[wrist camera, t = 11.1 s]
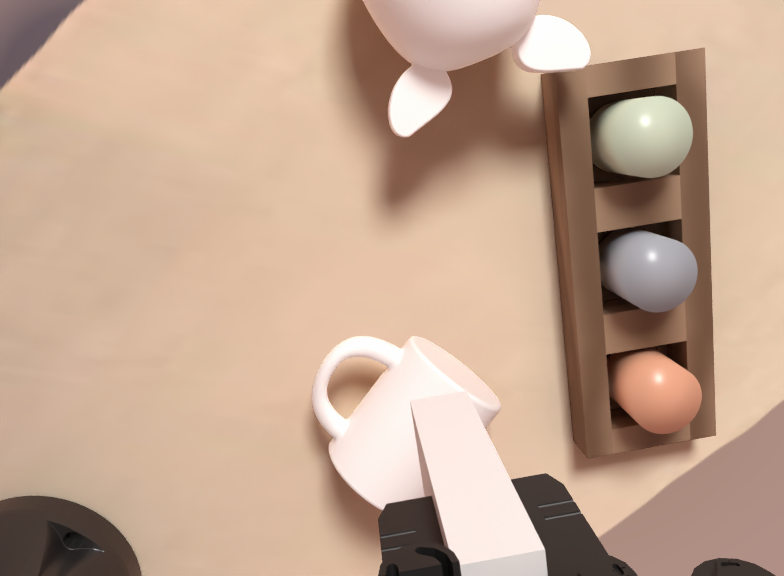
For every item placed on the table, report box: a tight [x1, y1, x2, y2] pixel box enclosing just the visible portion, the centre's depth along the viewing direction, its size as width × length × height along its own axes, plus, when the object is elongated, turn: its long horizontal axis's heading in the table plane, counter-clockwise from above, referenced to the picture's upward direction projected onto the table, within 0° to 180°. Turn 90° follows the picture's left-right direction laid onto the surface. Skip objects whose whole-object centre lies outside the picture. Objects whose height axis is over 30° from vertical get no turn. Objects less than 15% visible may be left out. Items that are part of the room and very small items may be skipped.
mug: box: [312, 336, 501, 511], centre depth 45 cm, size 12×10×8 cm
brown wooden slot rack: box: [541, 48, 716, 458], centre depth 47 cm, size 10×28×3 cm, turn 9°
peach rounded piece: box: [607, 347, 702, 434], centre depth 47 cm, size 5×5×5 cm
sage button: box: [589, 96, 693, 178], centre depth 43 cm, size 5×5×5 cm
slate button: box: [598, 227, 698, 312], centre depth 45 cm, size 5×5×5 cm
